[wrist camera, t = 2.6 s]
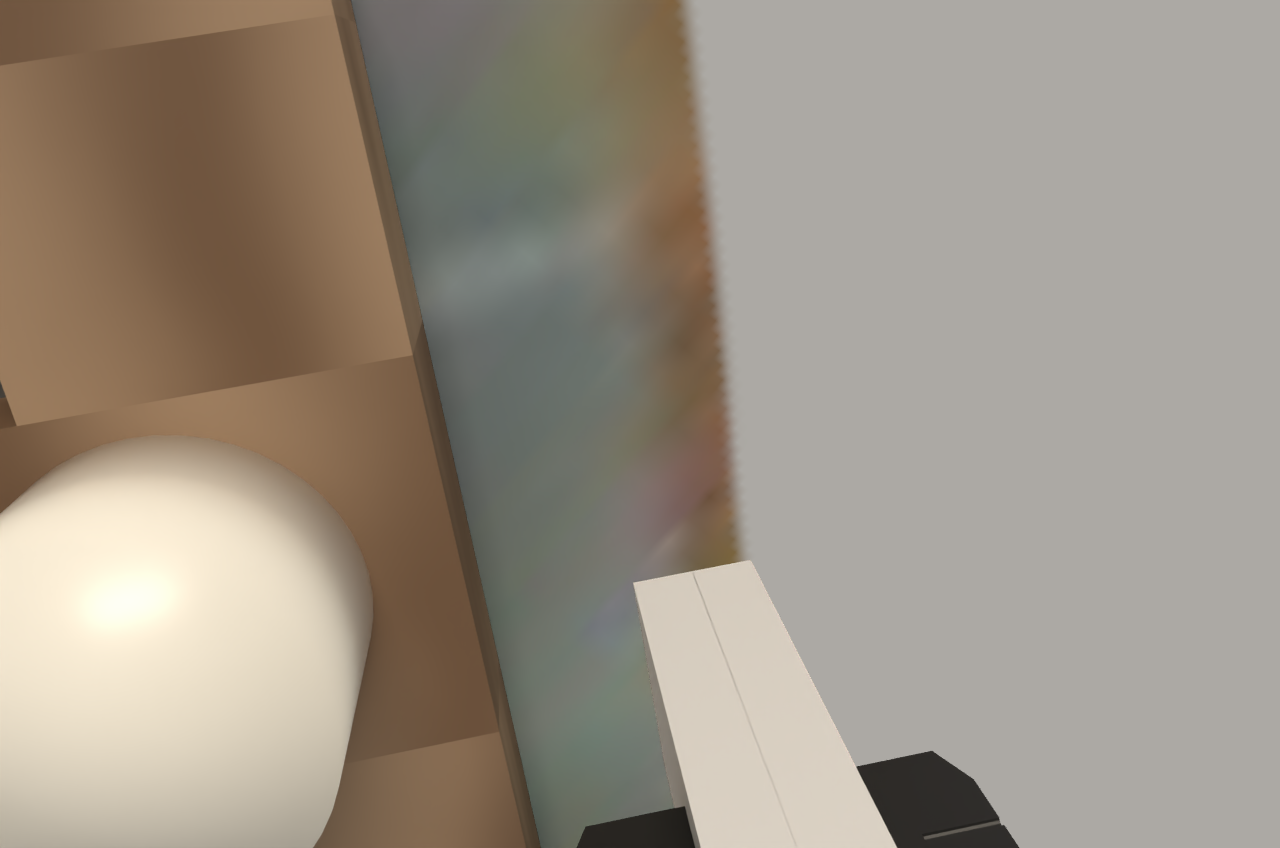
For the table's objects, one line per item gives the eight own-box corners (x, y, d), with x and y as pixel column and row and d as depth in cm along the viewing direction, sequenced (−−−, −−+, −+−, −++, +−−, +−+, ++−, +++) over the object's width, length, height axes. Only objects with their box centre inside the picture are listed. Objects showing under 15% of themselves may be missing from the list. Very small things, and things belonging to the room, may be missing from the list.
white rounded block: (57, 797, 18) (-57, 988, 14) (-73, 474, 16) (-247, 597, 12) (408, 725, 18) (387, 890, 15) (324, 402, 17) (274, 500, 13)
